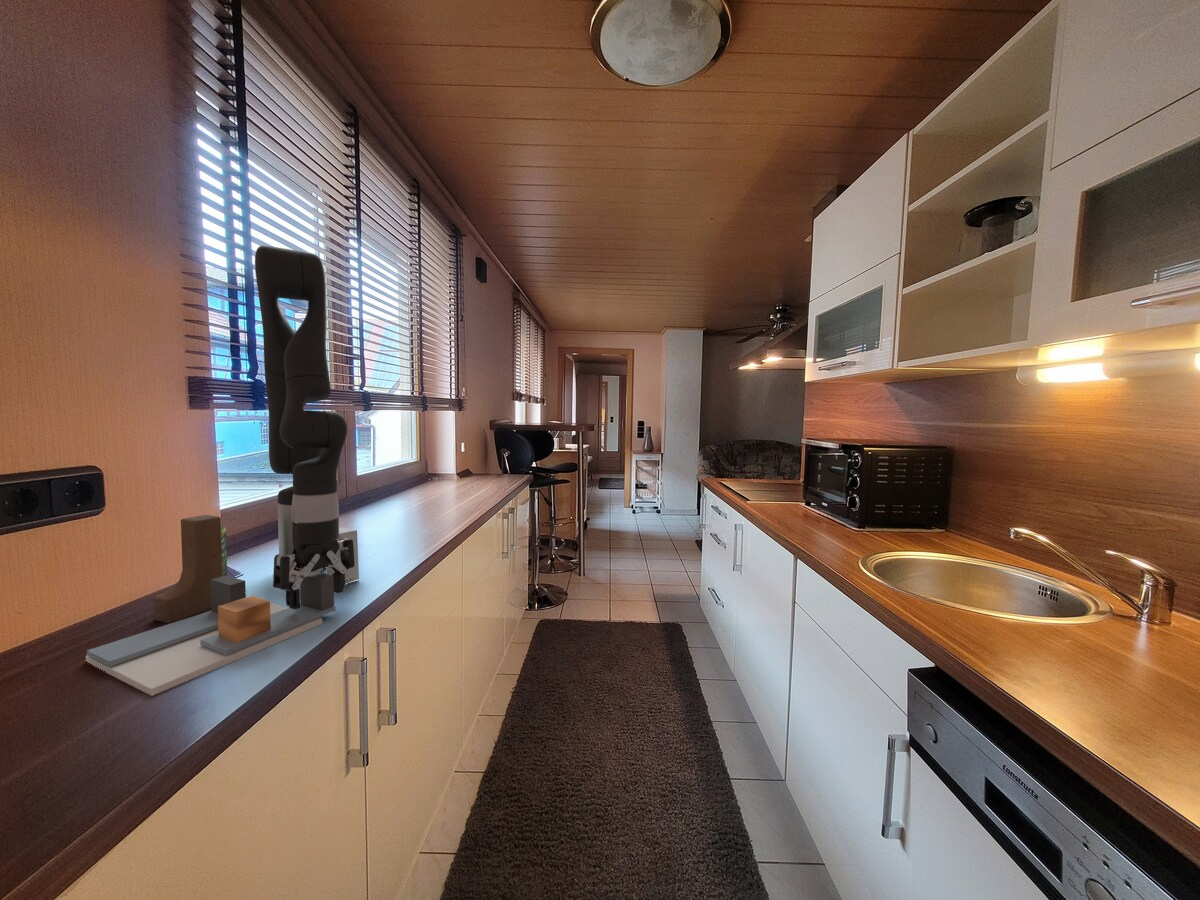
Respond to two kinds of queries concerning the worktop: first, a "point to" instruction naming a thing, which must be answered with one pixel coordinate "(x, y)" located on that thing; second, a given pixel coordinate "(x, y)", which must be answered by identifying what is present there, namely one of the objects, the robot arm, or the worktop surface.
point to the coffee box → (224, 551)
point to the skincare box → (354, 572)
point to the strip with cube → (287, 613)
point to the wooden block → (193, 570)
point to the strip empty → (172, 627)
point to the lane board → (186, 660)
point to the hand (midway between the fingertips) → (317, 599)
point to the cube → (244, 618)
